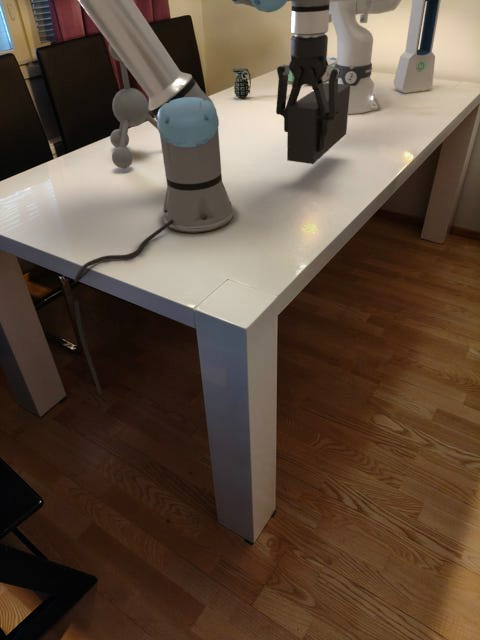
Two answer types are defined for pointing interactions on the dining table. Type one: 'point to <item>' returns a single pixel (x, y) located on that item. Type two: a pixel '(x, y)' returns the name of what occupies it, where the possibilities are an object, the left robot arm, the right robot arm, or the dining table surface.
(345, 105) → the box
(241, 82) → the grenade
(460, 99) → the dining table surface
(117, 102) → the molecular model
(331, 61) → the decorative block
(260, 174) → the dining table surface
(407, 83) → the electronic device
